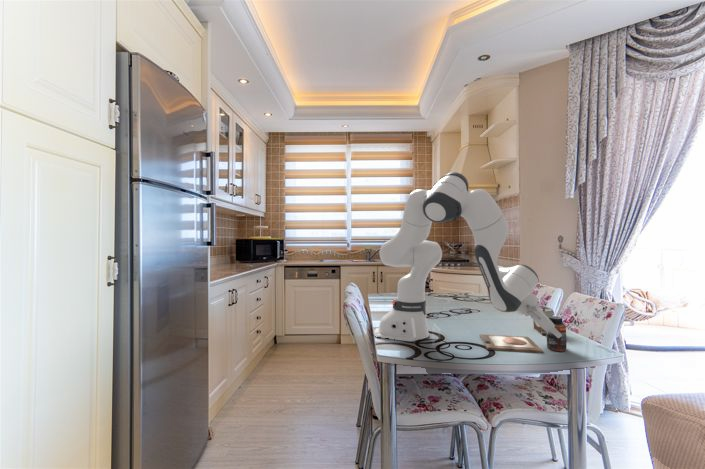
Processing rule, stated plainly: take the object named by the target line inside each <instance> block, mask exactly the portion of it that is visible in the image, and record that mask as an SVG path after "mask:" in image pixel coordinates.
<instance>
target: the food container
mask: <svg viewBox="0 0 705 469" xmlns="http://www.w3.org/2000/svg"><path fill="white" fill-rule="evenodd" d="M539 307H540V309H541V310H542V311H543V312H544V313H545V315H546V316H547V317H548V318H549V317H550V316H555V311H554V310H553V308H551V307H548V306H541V305H540V306H539ZM532 320H533V319H532ZM532 325H533V329H534V331H536V332H537V333H538V334H539V335H540V336H547V332H546V331H545V330H544V329H542V328H541V327H540V326H539V325H538V324H537V323H536V322H535V321H534V320H533V321H532Z"/></svg>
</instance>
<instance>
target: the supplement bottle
mask: <svg viewBox="0 0 705 469" xmlns="http://www.w3.org/2000/svg"><path fill="white" fill-rule="evenodd" d="M549 319H550V320H551V321H552V322H553V323H554V325H555V328H556V329H557V330H558V331H559V332H560V333H561V334H562V336H561V337H560V338H557V337H556V336H555V335H554V334H552V333H551V332H550V331H549V332H547V335H546V347H547V349H548V350H551V351H554V352H560V353H561V352H562V353H563V352H565V351H567V327H566V325H565V324H564V323H563V322H564V321H563V317H561V316H557V315H554V316H550V317H549Z"/></svg>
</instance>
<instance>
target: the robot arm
mask: <svg viewBox="0 0 705 469" xmlns="http://www.w3.org/2000/svg"><path fill="white" fill-rule="evenodd" d="M432 186H433V187H432V188H431V189H428V190H427V189H423V188H419V189H414V190H413V191H412V192H410V194H409V195H408V198H407V200H406V203H405V206H404V210H403V214H402V220H401V226H400V228H399V230H398V232H397V233H396V234H395V235H394V236H393V237H392V238H390V239H389V240H387V241H385V242H384V243H382V245H381V247H380V249H379V258H380V261H381V262H382V263H383V265H384V266H387V267H393V268H394V267H395V268H411V270H410V272H409V273H408V274H406V275H404V276H402V277H401V278H400V279H398V281H397V299H396V298H394V299H392V309H391V310H389V311H388V312H387V313H386V314H384V315H383V316H382V317H381V319H380V322H379V326H378V327H376V328H375V330H374V331H373V335H374V334H375V335H376V336H377V337H381V338H380V339H385V338H389V339H388V340H394V339H395V340H396V341H404V342H415V341H419V340H424V339H427V338H428V337H429V336H430V332H429V330H428V329H429V328H428V324H427V318H426V315H427V302H426V298H425V297H426V296H425V295H426V294H425V293H426V282H427V278H428V276H429V274H430V272H431V271H432V270H433V269H434V267H436V266H437V265H438V264H439V263H440V261H441V260H442V258H443V251H442V248H441V246H440V244H439V243H438V242H437V241H432V240H428V239H427V238H429V235H430V233H431V229H432V224H433V223H438V224H441V223H447V222H450V221H451V222H452V221H458V220H459V219H460V217H461V218H463V219H464V220H465V222H466V223H467V225H468V228H469V229H470V231H471V233H472V236H473V239H474V240H473V241H474V249H473V250H474V251H473V253H474V258H475V261H476V263H477V266H478V268H479V271H480V273H481V276H482V278H483V280H484V284H485V286H486V290H487V293H488V298H489V300H490V303H491V305H492V306H493V307H494V308H495V309H497V311H500V312H502V313H514V312H516V313H517V314H519V315H520V316H523V315H524V316H525V317H530V318H531V319H532V320H534V321H535V322H536V323H537V324H538V325H539V326H540V327H541V328H542V329H544V330H545V331H546V332H549V331H550V332H551V333H552V334H554V335H555V336H556V337H557V338H560V337H561V336H562V334H561V333H560V332H559V331H558V330H557V329H556V328H555V325H554V323H553V322H552V321H551V320H550V319H549V318H548V317H547V316H546V315H545V313H544V312H543V311H542V310H541V309H540V307H539V306H541V305H540V303H539V300H540V298H538V297H537V296H536V294H534V293H533V292H532V291H533V290H534V289H535V288H536V287H537V285H538V284H539V282H540V281H539V276H538V274H537V272H536V271H535V270H534V269H533V268H532V267H531V266H529V265H526V264H516V265H514V266H507V267H505V266H502V265H498V264H499V263H498V259H499V255H500V252H501V249H502V248H503V246H504V244H505V242H506V240H507V238H508V236H509V232H510V226H509V224H508V220H507V218H506V217H505V215H504V213H503V211H502V209H501V208H500V205H499V204H498V203H497V202H496V200H495V199H494V198H493V197H492V195H491V194H490V193H489V192H488V191H487V190H486V189H482V188H475V189H472V190H469V188H470V187H469V182H468V180H467V178H466V176H465V175H463V174H462V173H459V172H457V171H456V172H455V171H451V172H448V173H447V174H444V175H443V176H442V177H441V178H440V179H438V180H437V181H436V182H435V183H434V184H433V185H432ZM377 337H376V338H377ZM395 340H394V341H395Z"/></svg>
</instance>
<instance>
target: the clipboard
mask: <svg viewBox="0 0 705 469" xmlns="http://www.w3.org/2000/svg"><path fill="white" fill-rule="evenodd" d="M479 338H480V340H481V341H482V342H483V345H484V346H485V348H486V350H487V351H503V352H506V351H507V352H522V353H540V354H544V350H543V349H542V348H541V347H540V346H539V345H538V344H536V343H535V341H533V339H531V338H530V337H528V336H519V335H499V334H498V335H497V334H483V333H482V334H481V333H480V334H479Z"/></svg>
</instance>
